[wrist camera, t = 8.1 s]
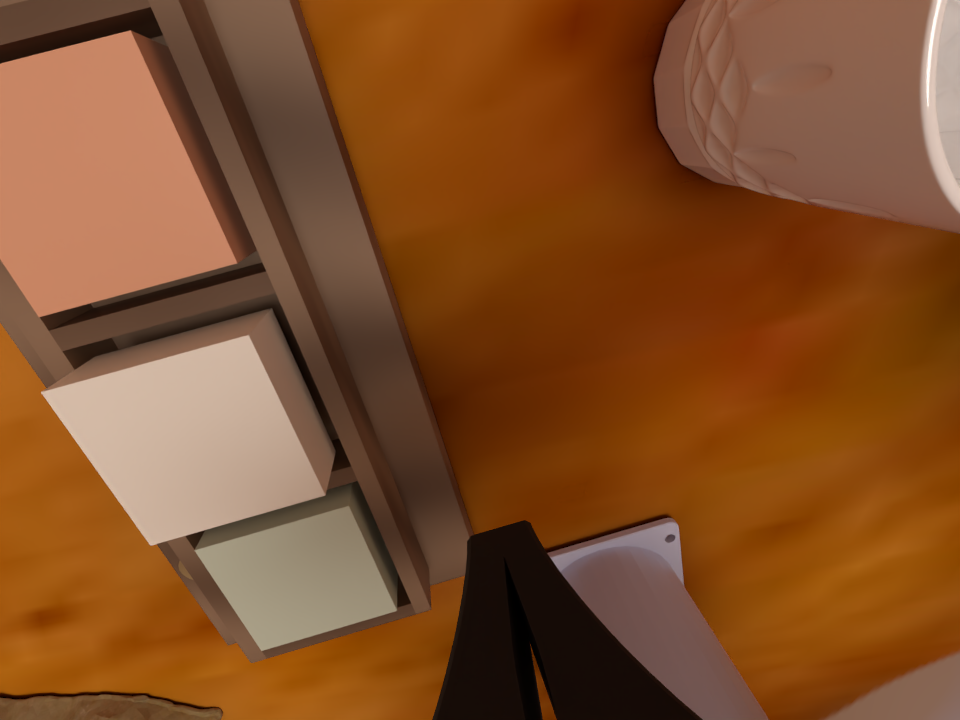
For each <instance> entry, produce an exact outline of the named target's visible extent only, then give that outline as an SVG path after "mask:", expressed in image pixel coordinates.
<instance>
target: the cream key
mask: <svg viewBox="0 0 960 720" xmlns="http://www.w3.org/2000/svg"><path fill="white" fill-rule="evenodd" d="M41 393H42V394H43V396H44V397H45V399H46V400H47V401H48V403H49V404H50V406H51V407H52V408H53V410H54V411H55V413H56V414H57V415H58V417H59V418H60V420H61V421H62V422H63V424H64V425H65V427H66V428H67V429H68V431H69V432H70V434H71V435H72V436H73V438H74V439H75V441H76V442H77V443H78V445H79V446H80V448H81V449H82V450H83V452H84V453H85V455H86V456H87V457H88V459H89V460H90V462H91V463H92V464H93V466H94V467H95V469H96V470H97V471H98V473H99V474H100V476H101V477H102V478H103V480H104V481H105V483H106V484H107V485H108V487H109V488H110V490H111V491H112V492H113V494H114V495H115V497H116V498H117V499H118V501H119V502H120V504H121V505H122V506H123V508H124V509H125V511H126V512H127V513H128V515H129V516H130V518H131V519H132V520H133V522H134V523H135V525H136V526H137V527H138V529H139V530H140V532H141V533H142V534H143V536H144V537H145V539H146V540H147V541H148V543H149V544H150V546H151V545H155V544H158V543H162V542H165V541H169V540H172V539H176V538H179V537H183V536H186V535H190V534H193V533H197V532H200V531H204V530H207V529H211V528H214V527H218V526H221V525H224V524H228V523H231V522H235V521H238V520H242V519H245V518H249V517H252V516H256V515H259V514H263V513H266V512H270V511H273V510H277V509H280V508H284V507H287V506H290V505H294V504H297V503H301V502H304V501H308V500H311V499H315V498H318V497H322V496H325V495H326V491H327V487H328V483H329V478H330V474H331V470H332V466H333V461H334V457H335V453H336V451H335V448H334V446H333V444H332V442H331V439H330V437H329V435H328V433H327V430H326V428H325V426H324V424H323V422H322V419H321V417H320V415H319V413H318V410H317V408H316V406H315V404H314V401H313V399H312V397H311V395H310V392H309V390H308V388H307V386H306V383H305V381H304V379H303V377H302V374H301V372H300V370H299V368H298V365H297V363H296V361H295V359H294V357H293V354H292V352H291V350H290V348H289V345H288V343H287V341H286V339H285V336H284V334H283V332H282V330H281V327H280V325H279V323H278V321H277V318H276V316H275V314H274V312H273V309H272V308H270V309H266V310H262V311H259V312H255V313H251V314H248V315H244V316H240V317H237V318H233V319H230V320H226V321H222V322H219V323H215V324H211V325H208V326H204V327H200V328H197V329H193V330H190V331H186V332H182V333H179V334H175V335H171V336H168V337H164V338H160V339H157V340H153V341H150V342H146V343H142V344H139V345H135V346H131V347H128V348H124V349H120V350H117V351H113V352H110V353H106V354H102V355H99V356H95V357H94V358H92V359H91V360H89V361H88V362H86V363H85V364H83V365H82V366H80V367H79V368H77V369H76V370H74V371H72V372H71V373H69V374H68V375H66V376H65V377H63V378H62V379H60V380H59V381H57V382H56V383H54V384H53V385H51V386H50V387H48V388H47V389H45V390H44V391H42V392H41Z"/></svg>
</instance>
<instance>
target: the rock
mask: <svg viewBox="0 0 960 720" xmlns="http://www.w3.org/2000/svg"><path fill="white" fill-rule="evenodd" d="M221 718H222V710H221V709H220V708H218V707H214V708H210V709H196V708H193V707H189V706H185V705H174V704H173V703H172V702H170V701H167V700H162V699H155V698H150V697H148V696H145V695H140V696H129V695H109V694H102V695H80V696H75V697H57V696H36V697H31V698H28V699H17V700H14V699H10V698H0V720H221Z"/></svg>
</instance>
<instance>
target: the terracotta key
mask: <svg viewBox="0 0 960 720" xmlns="http://www.w3.org/2000/svg"><path fill="white" fill-rule="evenodd" d="M255 251H257V249H256V247H255V244H254V242H253V240H252V237H251V235H250V233H249V231H248V228H247V226H246V224H245V221H244V219H243V217H242V215H241V212H240V210H239V208H238V205H237V203H236V201H235V198H234V196H233V194H232V192H231V189H230V187H229V185H228V182H227V180H226V178H225V176H224V173H223V171H222V169H221V166H220V164H219V162H218V160H217V157H216V155H215V153H214V150H213V148H212V146H211V143H210V141H209V139H208V137H207V134H206V132H205V130H204V127H203V125H202V123H201V121H200V118H199V116H198V114H197V111H196V109H195V107H194V105H193V102H192V100H191V98H190V95H189V93H188V91H187V89H186V86H185V84H184V82H183V79H182V77H181V75H180V72H179V70H178V68H177V66H176V63H175V61H174V59H173V56H172V54H171V52H170V50H169V47H167V46H165V45H163V44H160V43H158V42H156V41H154V40H151V39H149V38H147V37H145V36H142V35H140V34H138V33H135V32H133V31H131V30H130V31H126V32H122V33H118V34H114V35H110V36H106V37H102V38H99V39H95V40H91V41H87V42H83V43H79V44H75V45H71V46H67V47H63V48H59V49H55V50H52V51H48V52H44V53H40V54H36V55H32V56H28V57H24V58H20V59H16V60H12V61H8V62H4V63H1V64H0V260H1V261H2V263H3V264H4V266H5V267H6V269H7V270H8V272H9V273H10V275H11V276H12V278H13V279H14V281H15V282H16V284H17V285H18V287H19V288H20V290H21V291H22V293H23V294H24V296H25V297H26V299H27V300H28V302H29V303H30V305H31V306H32V308H33V309H34V311H35V312H36V314H37V315H38V317H42V316H45V315H49V314H53V313H56V312H60V311H64V310H67V309H71V308H75V307H78V306H82V305H86V304H89V303H93V302H97V301H100V300H104V299H108V298H112V297H115V296H119V295H123V294H126V293H130V292H134V291H137V290H141V289H145V288H148V287H152V286H156V285H159V284H163V283H167V282H170V281H174V280H178V279H181V278H185V277H189V276H193V275H196V274H200V273H204V272H207V271H211V270H215V269H218V268H222V267H226V266H229V265H233V264H237V263H239V262H240V261H242V260H243V259H245V258H246V257H248V256H249V255H251V254H252V253H254V252H255Z"/></svg>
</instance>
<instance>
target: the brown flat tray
mask: <svg viewBox="0 0 960 720" xmlns="http://www.w3.org/2000/svg"><path fill="white" fill-rule="evenodd" d="M130 30H131V31H133V32H135V33H138V34H140V35H142V36H145V37H147V38H149V39H151V40H154V41H156V42H158V43H160V44H163V45H165V46H167V47H169V50H170V52H171V54H172V56H173V59H174V61H175V63H176V66H177V68H178V70H179V72H180V75H181V77H182V79H183V82H184V84H185V86H186V89H187V91H188V93H189V95H190V98H191V100H192V102H193V105H194V107H195V109H196V111H197V114H198V116H199V118H200V121H201V123H202V125H203V127H204V130H205V132H206V134H207V137H208V139H209V141H210V143H211V146H212V148H213V150H214V153H215V155H216V157H217V160H218V162H219V164H220V166H221V169H222V171H223V173H224V176H225V178H226V180H227V182H228V185H229V187H230V189H231V192H232V194H233V196H234V198H235V201H236V203H237V205H238V208H239V210H240V212H241V215H242V217H243V219H244V221H245V224H246V226H247V228H248V231H249V233H250V235H251V237H252V240H253V242H254V244H255V247H256V249H257V251H255V252H254V253H252V254H251V255H249V256H248V257H246V258H245V259H243V260H242V261H240V262H239V263H237V264H233V265H229V266H226V267H222V268H218V269H215V270H211V271H207V272H204V273H200V274H196V275H193V276H189V277H185V278H181V279H178V280H174V281H170V282H167V283H163V284H159V285H156V286H152V287H148V288H145V289H141V290H137V291H134V292H130V293H126V294H123V295H119V296H115V297H112V298H108V299H104V300H100V301H97V302H93V303H89V304H86V305H82V306H78V307H75V308H71V309H67V310H64V311H60V312H56V313H53V314H49V315H45V316H42V317H38V315H37V314H36V312H35V311H34V309H33V308H32V306H31V305H30V303H29V302H28V300H27V299H26V297H25V296H24V294H23V293H22V291H21V290H20V288H19V287H18V285H17V284H16V282H15V281H14V279H13V278H12V276H11V275H10V273H9V272H8V270H7V269H6V267H5V266H4V264H3V263H2V261H1V260H0V323H1V324H2V326H3V327H4V328H5V330H6V331H7V333H8V334H9V335H10V337H11V338H12V340H13V341H14V343H15V344H16V345H17V347H18V348H19V350H20V351H21V352H22V354H23V355H24V357H25V358H26V360H27V361H28V362H29V364H30V365H31V367H32V368H33V369H34V371H35V372H36V374H37V375H38V377H39V378H40V379H41V381H42V382H43V384H44V385H45V386H46V388H48V387H50V386H51V385H53V384H54V383H56V382H57V381H59V380H60V379H62V378H63V377H65V376H66V375H68V374H69V373H71V372H72V371H74V370H76V369H77V368H79V367H80V366H82V365H83V364H85V363H86V362H88V361H89V360H91V359H92V358H94V357H95V356H99V355H102V354H106V353H110V352H113V351H117V350H120V349H124V348H128V347H131V346H135V345H139V344H142V343H146V342H150V341H153V340H157V339H160V338H164V337H168V336H171V335H175V334H179V333H182V332H186V331H190V330H193V329H197V328H200V327H204V326H208V325H211V324H215V323H219V322H222V321H226V320H230V319H233V318H237V317H240V316H244V315H248V314H251V313H255V312H259V311H262V310H266V309H270V308H272V309H273V312H274V314H275V316H276V318H277V321H278V323H279V325H280V327H281V330H282V332H283V334H284V336H285V339H286V341H287V343H288V345H289V348H290V350H291V352H292V354H293V357H294V359H295V361H296V363H297V365H298V368H299V370H300V372H301V374H302V377H303V379H304V381H305V383H306V386H307V388H308V390H309V392H310V395H311V397H312V399H313V401H314V404H315V406H316V408H317V410H318V413H319V415H320V417H321V419H322V422H323V424H324V426H325V428H326V430H327V433H328V435H329V437H330V439H331V442H332V444H333V446H334V448H335V451H336V453H335V457H334V461H333V466H332V470H331V474H330V478H329V483H328V487H327V490H328V489H331V488H335V487H338V486H342V485H345V484H349V483H352V482H356V481H358V482H359V485H360V487H361V489H362V492H363V494H364V496H365V499H366V501H367V503H368V505H369V508H370V510H371V512H372V515H373V517H374V519H375V521H376V524H377V526H378V528H379V531H380V533H381V535H382V537H383V540H384V542H385V544H386V547H387V549H388V551H389V554H390V556H391V558H392V560H393V563H394V565H395V567H396V570H397V572H398V589H397V611H395V612H392V613H388V614H385V615H382V616H378V617H375V618H371V619H368V620H365V621H361V622H358V623H355V624H351V625H348V626H344V627H341V628H338V629H334V630H331V631H328V632H324V633H321V634H317V635H314V636H311V637H307V638H304V639H301V640H297V641H294V642H290V643H287V644H284V645H280V646H277V647H274V648H270V649H267V650H263V651H261V650H260V648H259V647H258V645H257V644H256V642H255V641H254V639H253V638H252V636H251V635H250V633H249V632H248V630H247V629H246V627H245V626H244V624H243V623H242V621H241V620H240V618H239V617H238V615H237V614H236V612H235V611H234V609H233V608H232V606H231V605H230V603H229V602H228V600H227V599H226V597H225V596H224V594H223V593H222V591H221V590H220V588H219V587H218V585H217V584H216V582H215V581H214V579H213V578H212V576H211V575H210V573H209V572H208V570H207V569H206V567H205V566H204V564H203V563H202V561H201V560H200V558H199V557H198V555H197V554H196V552H195V551H194V550H195V549H196V547H197V545H198V543H199V541H200V539H201V537H202V535H203V533H204V532H205V530H204V531H200V532H197V533H193V534H190V535H186V536H183V537H179V538H176V539H172V540H169V541H165V542H162V543H158V544H157V545H158V547H159V548H160V549H161V551H162V552H163V554H164V555H165V557H166V558H167V559H168V561H169V562H170V564H171V565H172V566H173V568H174V569H175V571H176V572H177V574H178V575H179V576H180V578H181V579H182V581H183V582H184V583H185V585H186V586H187V588H188V589H189V591H190V592H191V593H192V595H193V596H194V598H195V599H196V600H197V602H198V603H199V605H200V606H201V608H202V609H203V610H204V612H205V613H206V615H207V616H208V617H209V619H210V620H211V622H212V623H213V625H214V626H215V627H216V629H217V630H218V632H219V633H220V635H221V636H222V637H223V639H224V640H225V642H226V643H227V644H228V645H231V644H234V643H238V645H239V646H240V648H241V649H242V651H243V652H244V654H245V655H246V656H247V658H248V659H249V661H250V662H251V663H253V662H257V661H260V660H263V659H267V658H270V657H274V656H277V655H280V654H284V653H287V652H290V651H294V650H297V649H300V648H304V647H307V646H311V645H314V644H317V643H321V642H324V641H327V640H331V639H334V638H338V637H341V636H344V635H348V634H351V633H354V632H358V631H361V630H364V629H368V628H371V627H375V626H378V625H381V624H385V623H388V622H391V621H395V620H398V619H402V618H405V617H408V616H412V615H415V614H418V613H422V612H425V611H428V610H431V595H430V586H431V585H434V584H438V583H441V582H444V581H448V580H451V579H454V578H458V577H461V576H465V572H466V561H467V541H468V539H469V538H470V536H472V535H474V534H473V531H472V528H471V525H470V522H469V519H468V516H467V513H466V509H465V506H464V503H463V500H462V497H461V494H460V491H459V488H458V485H457V482H456V479H455V476H454V473H453V470H452V467H451V464H450V461H449V458H448V455H447V452H446V449H445V446H444V443H443V440H442V437H441V433H440V430H439V427H438V424H437V421H436V418H435V415H434V412H433V409H432V406H431V403H430V400H429V397H428V394H427V391H426V388H425V385H424V382H423V379H422V376H421V373H420V370H419V367H418V364H417V361H416V357H415V354H414V351H413V348H412V345H411V342H410V339H409V336H408V333H407V330H406V327H405V324H404V321H403V318H402V315H401V312H400V309H399V306H398V303H397V300H396V297H395V294H394V291H393V288H392V285H391V281H390V278H389V275H388V272H387V269H386V266H385V263H384V260H383V257H382V254H381V251H380V248H379V245H378V242H377V239H376V236H375V233H374V230H373V227H372V224H371V221H370V218H369V215H368V212H367V209H366V205H365V202H364V199H363V196H362V193H361V190H360V187H359V184H358V181H357V178H356V175H355V172H354V169H353V166H352V163H351V160H350V157H349V154H348V151H347V148H346V145H345V142H344V139H343V136H342V133H341V129H340V126H339V123H338V120H337V117H336V114H335V111H334V108H333V105H332V102H331V99H330V96H329V93H328V90H327V87H326V84H325V81H324V78H323V75H322V72H321V69H320V66H319V63H318V60H317V57H316V53H315V50H314V47H313V44H312V41H311V38H310V35H309V32H308V29H307V26H306V23H305V20H304V17H303V14H302V11H301V8H300V5H299V2H298V0H0V64H1V63H4V62H8V61H12V60H16V59H20V58H24V57H28V56H32V55H36V54H40V53H44V52H48V51H52V50H55V49H59V48H63V47H67V46H71V45H75V44H79V43H83V42H87V41H91V40H95V39H99V38H102V37H106V36H110V35H114V34H118V33H122V32H126V31H130Z"/></svg>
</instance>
